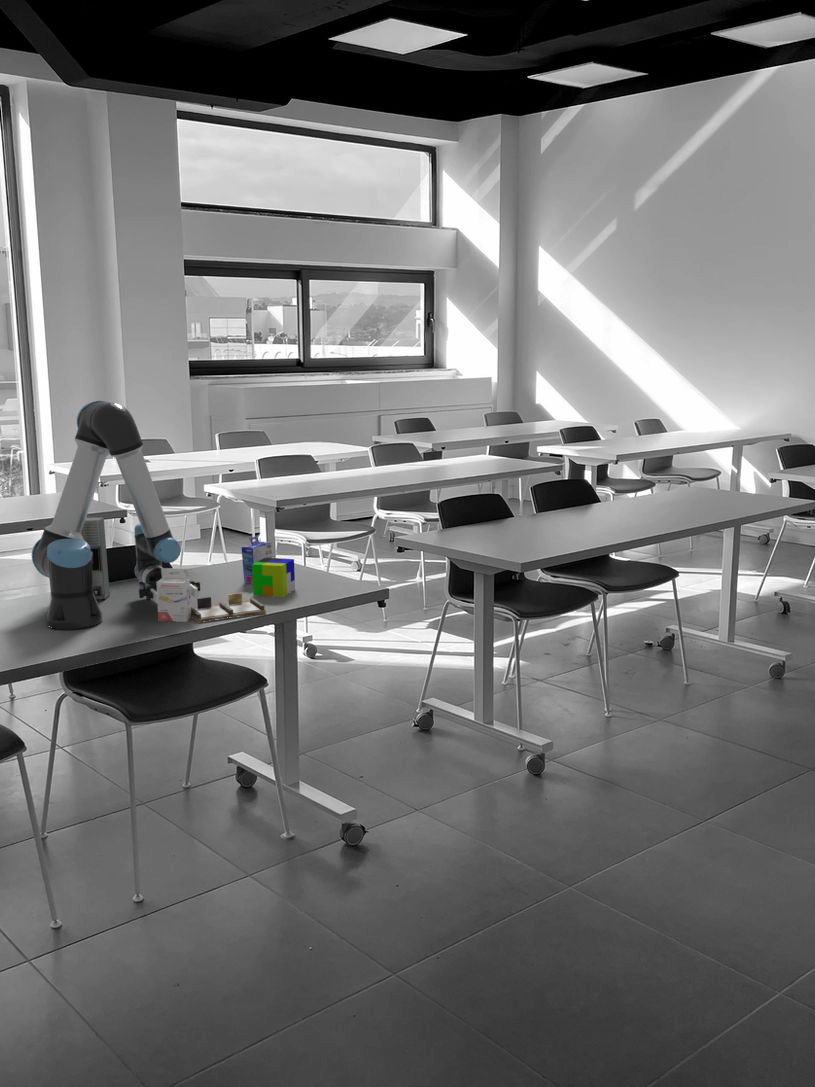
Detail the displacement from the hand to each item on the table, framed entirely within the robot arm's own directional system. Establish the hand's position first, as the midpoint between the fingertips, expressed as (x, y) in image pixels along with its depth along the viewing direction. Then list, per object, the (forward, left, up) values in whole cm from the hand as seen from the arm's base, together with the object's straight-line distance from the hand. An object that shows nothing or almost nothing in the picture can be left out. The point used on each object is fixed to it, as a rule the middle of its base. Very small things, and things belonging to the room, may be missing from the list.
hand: (177, 595), depth 299 cm
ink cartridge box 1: (0, +4, -8) cm, 9 cm away
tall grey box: (-18, +43, -8) cm, 47 cm away
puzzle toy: (+36, +20, -8) cm, 42 cm away
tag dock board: (+15, +4, -8) cm, 18 cm away
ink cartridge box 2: (+37, +38, -8) cm, 54 cm away
